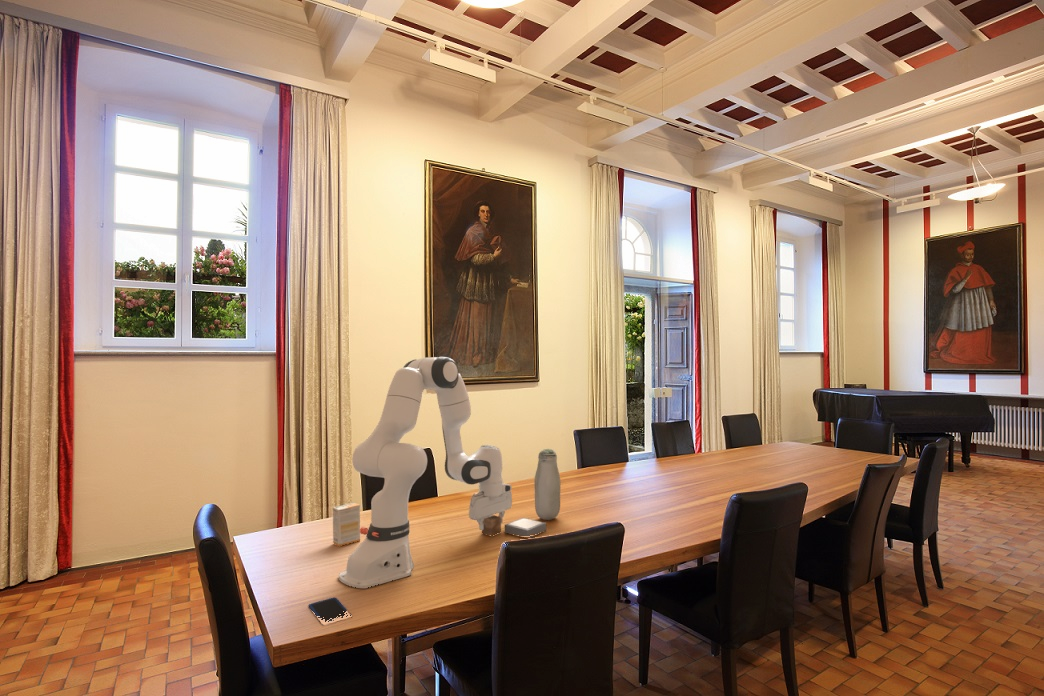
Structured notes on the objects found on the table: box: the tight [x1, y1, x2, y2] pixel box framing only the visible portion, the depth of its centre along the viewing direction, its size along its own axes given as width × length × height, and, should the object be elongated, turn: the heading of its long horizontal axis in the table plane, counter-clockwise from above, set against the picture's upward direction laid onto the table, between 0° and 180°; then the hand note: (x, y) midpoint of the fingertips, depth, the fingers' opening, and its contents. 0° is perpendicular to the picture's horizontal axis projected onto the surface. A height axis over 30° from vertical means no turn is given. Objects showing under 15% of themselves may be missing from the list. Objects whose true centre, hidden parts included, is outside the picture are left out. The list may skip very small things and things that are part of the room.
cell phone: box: [308, 596, 352, 622], centre depth 138 cm, size 7×14×1 cm, turn 37°
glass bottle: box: [534, 448, 561, 521], centre depth 216 cm, size 10×10×28 cm
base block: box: [504, 517, 547, 539], centre depth 200 cm, size 11×11×3 cm
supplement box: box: [332, 502, 361, 547], centre depth 190 cm, size 8×5×13 cm, turn 135°
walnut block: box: [481, 514, 502, 537], centre depth 198 cm, size 5×5×6 cm
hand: (491, 526), depth 199 cm, fingers open, 8 cm apart
